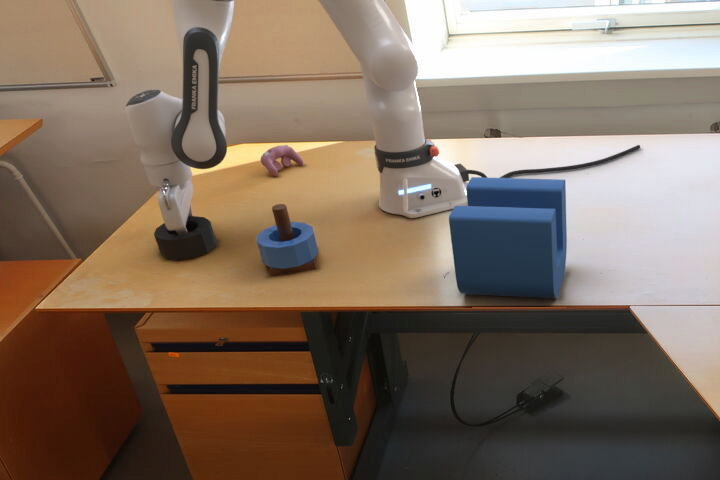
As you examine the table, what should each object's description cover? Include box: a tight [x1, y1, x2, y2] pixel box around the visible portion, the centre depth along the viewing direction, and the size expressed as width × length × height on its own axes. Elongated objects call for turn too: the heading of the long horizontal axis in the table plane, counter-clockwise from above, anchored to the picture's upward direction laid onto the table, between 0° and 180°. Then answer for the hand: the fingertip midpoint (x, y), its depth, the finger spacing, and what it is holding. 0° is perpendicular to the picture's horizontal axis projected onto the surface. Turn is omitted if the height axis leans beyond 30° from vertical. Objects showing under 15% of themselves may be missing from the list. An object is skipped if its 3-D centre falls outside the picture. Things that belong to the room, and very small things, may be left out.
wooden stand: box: [268, 203, 317, 277], centre depth 158 cm, size 9×9×12 cm
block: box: [448, 176, 568, 299], centre depth 146 cm, size 18×18×18 cm
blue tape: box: [256, 221, 319, 269], centre depth 160 cm, size 11×11×5 cm
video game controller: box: [260, 144, 304, 177], centre depth 202 cm, size 10×5×7 cm, turn 144°
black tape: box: [153, 215, 217, 261], centre depth 168 cm, size 11×11×5 cm
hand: (188, 230), depth 171 cm, fingers open, 8 cm apart
